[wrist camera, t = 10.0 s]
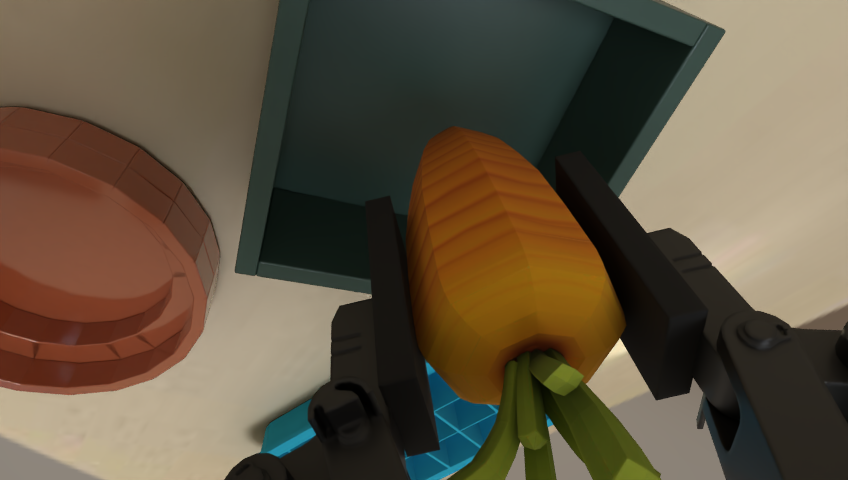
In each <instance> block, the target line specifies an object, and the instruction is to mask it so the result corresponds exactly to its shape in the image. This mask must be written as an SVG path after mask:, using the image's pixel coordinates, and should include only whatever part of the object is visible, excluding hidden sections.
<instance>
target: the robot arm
mask: <svg viewBox="0 0 848 480" xmlns="http://www.w3.org/2000/svg"><path fill="white" fill-rule="evenodd" d="M555 175H556V193H557V195H558V196H559V197H560V199H561V200H562V201H563V203H564V204H565V205H566V207H567V208H568V209H569V211H570V212H571V214H572V215H573V217H574V218H575V219H576V221H577V222H578V224H579V225H580V227H581V228H582V229H583V231H584V232H585V234H586V235H587V237H588V238H589V239H590V241H591V242H592V244H593V245H594V246H595V248H596V249H597V252H598V254H599V256H600V258H601V260H602V262H603V264H604V267H605V269H606V271H607V274H608V276H609V278H610V281H611V283H612V285H613V288H614V290H615V293H616V295H617V297H618V300H619V302H620V304H621V307H622V309H623V311H624V315H625V320H626V325H627V326H626V327H625V329H624V331H623V333H622V335H621V336H620V339H621V340H622V342H623V344H624V346H625V347H626V349H627V351H628V353H629V354H630V356H631V358H632V360H633V361H634V363H635V365H636V366H637V368H638V370H639V372H640V373H641V375H642V377H643V379H644V380H645V382H646V384H647V385H648V387H649V389H650V391H651V392H652V394H653V396H654V398H655V399H656V400H660V399H664V398H669V397H673V396H678V395H682V394H687V393H689V392H690V387H691V384H692V379H693V378H694V379H695V381H696V382H697V384H698V385H699V387H700V388H701V390H702V391H703V397H702V400H701V404H700V408H699V412H698V416H697V419H696V420H697V429H703V426H704V423H705V419H706V422H707V425H708V428H709V431H710V434H711V436H712V440H713V443H714V445H715V448H716V451H717V454H718V457H719V460H720V463H721V466H722V469H723V472H724V475H725V478H726V480H848V322H847V323H846V325H845V326H844V328H843V330H842V331H840V330H812V329H798V328H791V327H790V326H789V324H787V323H786V322H784V321H782V320H781V319H779V318H778V317H776V316H773V315H770V314H767V313H764V312H761V311H755V310H754V309H753V308H752V307H751V306H750V305H749V304H748V303H747V302H746V301H745V300H744V299H743V297H742V296H741V295H740V294H739V293H738V292H737V291H736V290H735V289H734V288H733V286H732V285H731V284H730V283H729V282H728V281H727V280H726V279H725V278H724V276H723V275H722V274H721V273H720V272H719V271H718V270H717V269H716V268H715V267H713V266H712V263H711V262H710V261H709V260H708V259H707V258H706V257H705V256H704V255H702V253H701V251H700V250H699V249H698V248H697V247H696V246H695V244H694V243H693V242H692V241H691V240H690V239H689V238H687V237H686V236H684V235H682V234H680V233H678V232H676V231H675V230H673V229H671V228H667V229H663V230H659V231H654V232H650V233H646V232H645V230H644V229H643V228H642V227H641V225H640V224H639V223H638V222H637V220H636V219H635V218H634V217H633V215H632V214H631V213H630V212H629V211H628V209H627V208H626V207H625V206H624V204H623V203H622V202H621V201H620V199H619V198H618V197H617V196H616V194H615V193H614V192H613V191H612V189H611V188H610V187H609V186H608V185H607V183H606V182H605V181H604V180H603V178H602V177H601V176H600V175H599V173H598V172H597V171H596V170H595V168H594V167H593V166H592V165H591V163H590V162H589V161H588V160H587V159H586V157H585V156H584V155H583V154H582V152H581V151H577V152H573V153H568V154H564V155H560V156H556V157H555ZM365 208H366V222H367V236H368V250H369V264H370V278H371V292H372V298H371V299H367V300H363V301H358V302H354V303H350V304H346V305H341V306H339V308H338V310H337V312H336V314H335V316H334V318H333V320H332V325H331V340H332V342H331V355H332V356H331V378H330V382H328V383H326V384H325V385H323V386H322V387H321V388H320V389H319V390H318V391H317V392H316V393H315V395H314V396H313V397H312V399H311V402H310V404H309V406H308V422H309V423H310V425H311V427H312V428H313V430H314V432H315V433H316V435H315V436H314V437H313V438H312V439H311V440H310V441H308V442H307V443H305V444H304V445H302V446H301V447H299V448H297V449H295V450H294V451H292V452H290V453H288V454H286V455H285V456H283V457H281V458H279V457H277V456H275V455H272V454H270V453H257V454H254V455H252V456H250V457H247V458H245V459H243V460H242V461H241V462H240V463H238V464H237V465H236V466H235V467H233V468H232V470H231V471H230V472H229V474H228V475H227V477H226V478H225V479H224V480H411V478H410V476H409V474H408V471H407V469H406V461H405V452H406V455H407V457H411V456H415V455H419V454H424V453H428V452H433V451H437V450H440V445H439V439H438V433H437V427H436V421H435V415H434V409H433V403H432V397H431V391H430V385H429V379H428V373H427V367H426V362H425V358H424V356H423V354H422V353H421V351H420V349H419V347H418V344H417V339H416V333H415V326H414V320H413V313H412V305H411V297H410V288H409V279H408V265H407V255H406V251H405V247H404V244H403V240H402V237H401V233H400V229H399V226H398V222H397V219H396V215H395V211H394V208H393V204H392V201H391V197H390V196H385V197H381V198H377V199H373V200H368V201H365ZM404 450H405V452H404Z"/></svg>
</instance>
